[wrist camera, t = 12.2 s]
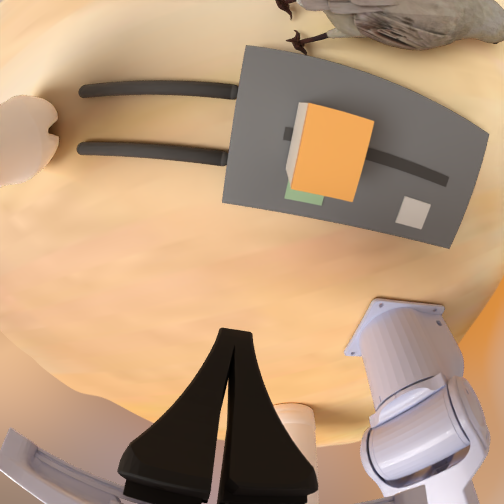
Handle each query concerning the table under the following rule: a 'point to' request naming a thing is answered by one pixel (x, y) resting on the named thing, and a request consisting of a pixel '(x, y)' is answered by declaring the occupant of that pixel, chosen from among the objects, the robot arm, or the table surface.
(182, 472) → the robot arm
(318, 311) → the table surface
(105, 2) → the table surface
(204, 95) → the twin grey rods
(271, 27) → the table surface
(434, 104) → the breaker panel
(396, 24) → the decorative bird
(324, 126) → the handle
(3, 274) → the table surface
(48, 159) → the water bottle
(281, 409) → the bottle
